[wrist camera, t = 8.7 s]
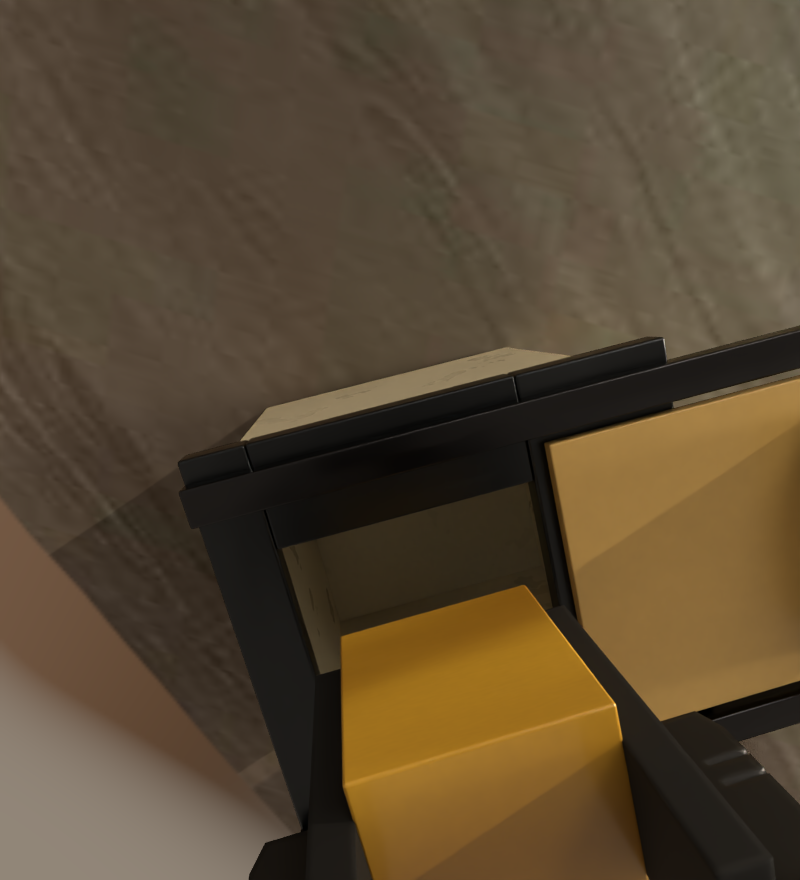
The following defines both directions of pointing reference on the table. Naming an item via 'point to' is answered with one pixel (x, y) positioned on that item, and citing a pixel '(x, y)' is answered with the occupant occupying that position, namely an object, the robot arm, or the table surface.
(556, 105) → the table surface
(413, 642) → the block
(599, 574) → the shutter
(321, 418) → the sliding lid box
